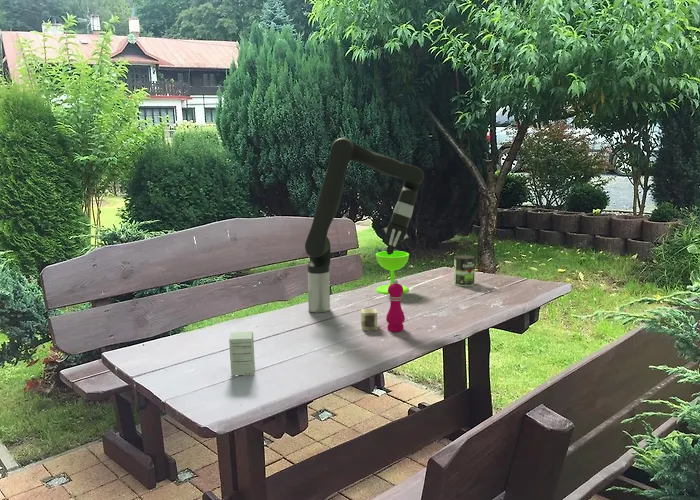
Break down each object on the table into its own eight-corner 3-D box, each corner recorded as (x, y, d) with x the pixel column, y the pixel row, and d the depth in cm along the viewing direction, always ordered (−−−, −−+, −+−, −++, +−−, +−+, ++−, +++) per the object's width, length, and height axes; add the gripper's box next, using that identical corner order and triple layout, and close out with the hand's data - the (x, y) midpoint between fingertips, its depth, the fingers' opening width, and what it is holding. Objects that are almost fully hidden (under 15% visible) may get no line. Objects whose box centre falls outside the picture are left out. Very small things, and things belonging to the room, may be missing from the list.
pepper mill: (403, 332, 237) (403, 282, 233) (384, 331, 238) (384, 281, 235) (406, 327, 244) (406, 277, 240) (388, 326, 245) (388, 277, 242)
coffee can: (478, 285, 306) (479, 257, 304) (460, 287, 303) (461, 259, 300) (467, 280, 316) (468, 253, 313) (449, 282, 312) (450, 255, 309)
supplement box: (232, 368, 204) (230, 331, 202) (255, 367, 205) (253, 330, 203) (230, 376, 197) (228, 339, 195) (253, 375, 198) (252, 338, 195)
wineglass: (415, 291, 297) (416, 254, 294) (389, 296, 288) (389, 258, 285) (395, 284, 310) (395, 249, 307) (369, 289, 301) (369, 253, 298)
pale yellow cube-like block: (362, 330, 240) (361, 313, 239) (361, 325, 247) (361, 308, 245) (377, 330, 240) (377, 313, 239) (376, 325, 247) (376, 308, 245)
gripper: (386, 209, 249) (373, 249, 250) (418, 219, 249) (404, 260, 250) (386, 209, 257) (373, 248, 258) (417, 219, 256) (403, 258, 257)
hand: (388, 254), depth 254 cm, fingers closed
